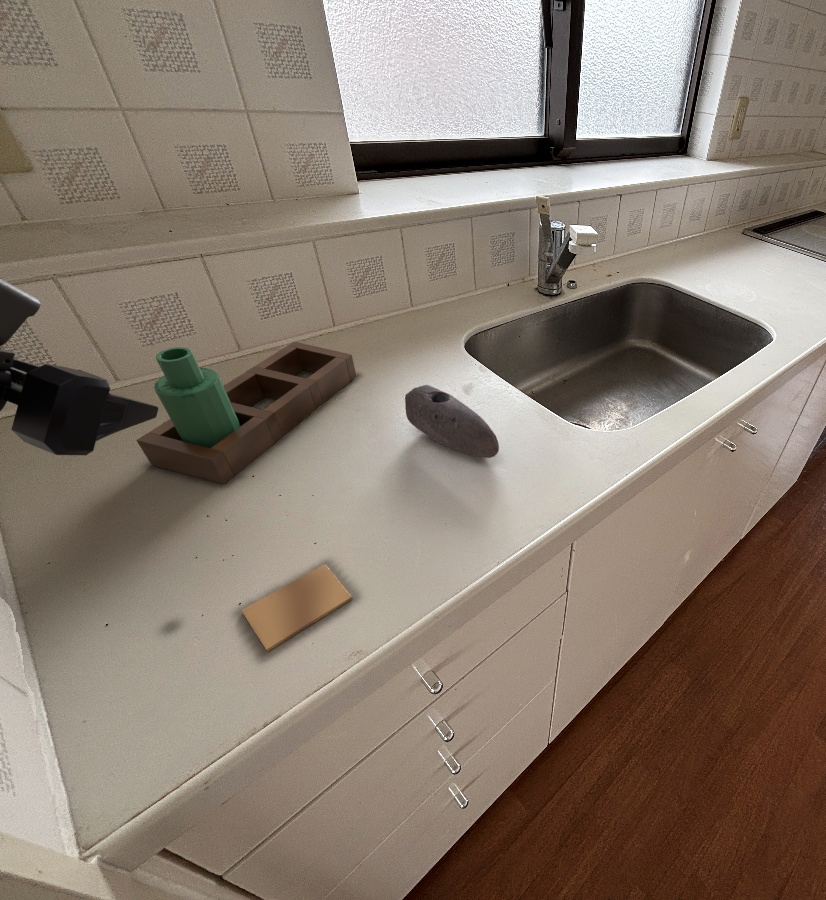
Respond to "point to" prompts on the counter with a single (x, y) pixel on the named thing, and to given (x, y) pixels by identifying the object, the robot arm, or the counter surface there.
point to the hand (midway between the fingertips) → (119, 398)
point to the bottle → (194, 398)
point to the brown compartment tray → (256, 412)
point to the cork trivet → (296, 606)
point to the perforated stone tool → (450, 422)
